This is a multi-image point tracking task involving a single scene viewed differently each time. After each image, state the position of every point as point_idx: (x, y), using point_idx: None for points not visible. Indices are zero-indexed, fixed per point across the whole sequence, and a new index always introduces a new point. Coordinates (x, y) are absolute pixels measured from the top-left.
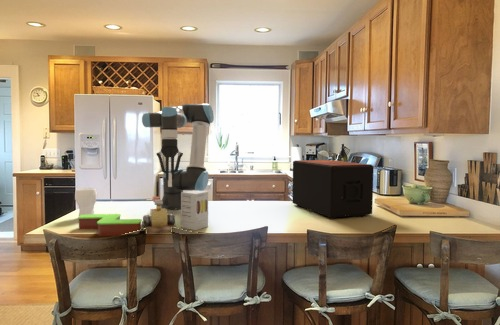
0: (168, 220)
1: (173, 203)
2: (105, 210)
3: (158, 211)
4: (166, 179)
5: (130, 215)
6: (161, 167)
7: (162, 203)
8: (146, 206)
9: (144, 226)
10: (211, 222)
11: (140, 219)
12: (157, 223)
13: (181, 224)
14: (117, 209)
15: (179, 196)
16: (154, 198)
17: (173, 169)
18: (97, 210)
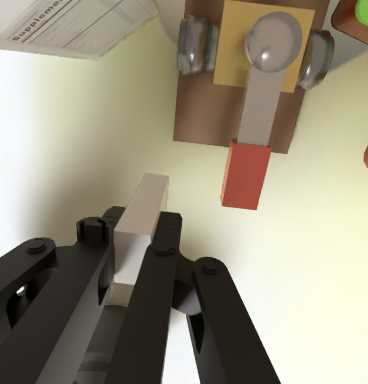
0: (212, 22)
1: (118, 326)
2: (315, 372)
3: (275, 6)
4: (179, 216)
5: (272, 290)
6: (247, 318)
7: (248, 31)
8: (192, 372)
9: None
10: (19, 55)
11: (364, 5)
12: None
13: (156, 4)
14: (280, 370)
15: (87, 352)
16: (267, 147)
17: (69, 264)
18: (335, 379)
